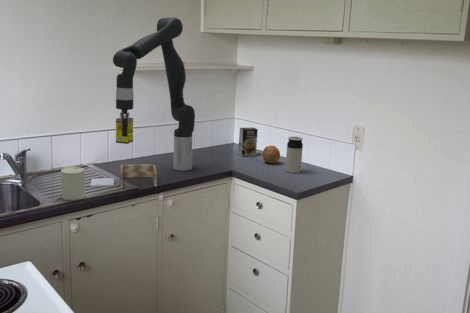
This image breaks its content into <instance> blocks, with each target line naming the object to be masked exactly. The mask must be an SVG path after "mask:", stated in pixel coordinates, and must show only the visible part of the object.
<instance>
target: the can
mask: <svg viewBox="0 0 470 313" xmlns="http://www.w3.org/2000/svg"><path fill="white" fill-rule="evenodd" d="M60 176H61V199H62V200H64V201H65V200H66V201H77V200H79V201H80V200H82V199H85V197H86V192H85V189H86V188H85V168H83V167H79V166H70V167H68V166H67V167H64V168H62V169H61V170H60Z"/></svg>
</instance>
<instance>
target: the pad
mask: <svg viewBox="0 0 470 313" xmlns="http://www.w3.org/2000/svg"><path fill="white" fill-rule="evenodd" d="M114 186H115V178H113V177H112V178H111V177H110V178H107V177H105V178H91V181H90V188H92V187H93V188H94V187H95V188H96V187H114Z"/></svg>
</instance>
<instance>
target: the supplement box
mask: <svg viewBox="0 0 470 313" xmlns="http://www.w3.org/2000/svg"><path fill="white" fill-rule="evenodd" d="M128 121H129V123H128V128H127V137H123V136H122V124H121V118H120V117H118V118H116V119H115V143H117V144H123V145H124V144H125V145H128V144H130V143H132V142H134V117H129V120H128ZM123 125H126V123H124V124H123Z"/></svg>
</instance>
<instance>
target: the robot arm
mask: <svg viewBox="0 0 470 313" xmlns="http://www.w3.org/2000/svg"><path fill="white" fill-rule="evenodd" d="M183 26H184V25H183V22H182V21H181V19H180V18H177V17H161V18H159V19H158V21H157V22H156V31H155V32H153V33H151V34H148V35H145V36H143V37H141V38H140V39H138V40H137V41H135V42H134V43H133V44H131V45H129V46H126V47H124V48H122V49H119V50H117V51H116V52H115V54H114V55H113V57H112V62H113V63H112V64H113V65H114V66H115V67H117V68H118V69H119V68H120V69H122V72H121V73H118V74H117V75H116V90H115V108H116V110H120V113H119V118H121V124H122V136H123V137H127V128H128V123H129V121H128V120H129V118H130V112H128V111H129V110H130V111H131V110H133V109H134V77H135V72H136V70H137V65H138V60H140V59H142V58H144V57H146V56H147V55H148V54H150V53H151V52H152V51H154V50H155V49H157V48H158V47H160V46H161V52H162V56H163V61H164V67H165V68H164V69H165V73H166V79H167V84H168V90H169V91H168V92H169V97H170V98H169V99H170V112H171V117H172V118H173V120H175V121H177V122H178V126H177V128H175V130H174V131H173V164H172V166H173V169H174V170H175V171H182V172H183V171H184V172H186V171H190V170H193V154H194V153H193V132H194V130H195V124H196V123H195V122H196V120H195V119H196V114H195V113H196V111H195V109H194V107H193V106H191V105H190V104H186V103H185V98H184V87H185V84H186V78H187V77H186V76H187V75H186V69H185V64H184V61H183V60H182V58H181V56H180V55H179V53H178V52H177V50H176V49H175V46H174V42H173V39H175V38H178V37H179V36H181V34H182V33H183ZM124 123H126V125H123V124H124Z"/></svg>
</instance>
